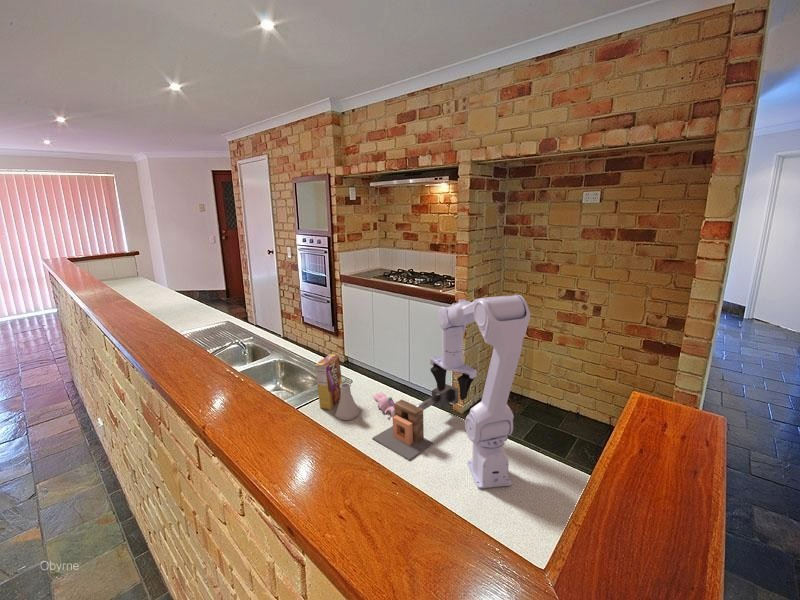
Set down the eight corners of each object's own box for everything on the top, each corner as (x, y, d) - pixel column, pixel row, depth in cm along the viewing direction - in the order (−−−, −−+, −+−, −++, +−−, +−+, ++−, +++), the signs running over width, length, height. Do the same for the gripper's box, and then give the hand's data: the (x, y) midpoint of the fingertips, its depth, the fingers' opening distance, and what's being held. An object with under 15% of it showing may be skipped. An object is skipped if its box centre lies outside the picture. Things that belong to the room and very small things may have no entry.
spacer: (409, 445, 104) (408, 425, 103) (393, 436, 108) (392, 417, 107) (412, 443, 105) (412, 423, 104) (397, 434, 109) (396, 415, 108)
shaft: (418, 427, 105) (417, 412, 104) (399, 418, 110) (399, 403, 109) (458, 402, 117) (458, 388, 116) (440, 395, 122) (439, 381, 121)
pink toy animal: (409, 420, 119) (381, 395, 130) (411, 404, 117) (382, 380, 128) (393, 427, 116) (366, 401, 127) (394, 411, 114) (366, 386, 125)
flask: (330, 417, 120) (328, 387, 117) (344, 406, 126) (342, 378, 124) (350, 423, 116) (348, 392, 114) (363, 411, 123) (361, 382, 120)
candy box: (332, 395, 134) (329, 353, 130) (343, 397, 132) (340, 354, 129) (318, 408, 126) (314, 363, 122) (330, 410, 124) (326, 365, 120)
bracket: (416, 444, 105) (415, 413, 102) (395, 432, 110) (394, 403, 108) (423, 439, 107) (423, 409, 104) (402, 428, 112) (401, 399, 110)
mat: (409, 460, 98) (409, 459, 98) (372, 439, 108) (372, 437, 108) (433, 444, 105) (433, 442, 105) (396, 424, 115) (396, 423, 115)
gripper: (483, 351, 105) (482, 397, 108) (440, 339, 115) (441, 381, 118) (468, 358, 100) (467, 406, 103) (425, 345, 110) (425, 390, 113)
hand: (452, 394), depth 110 cm, fingers open, 7 cm apart
